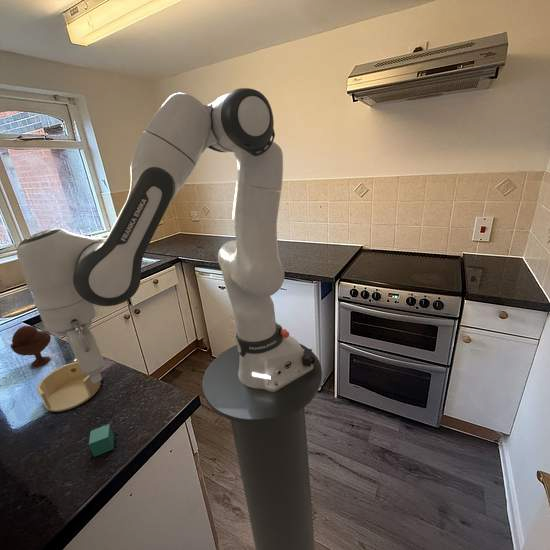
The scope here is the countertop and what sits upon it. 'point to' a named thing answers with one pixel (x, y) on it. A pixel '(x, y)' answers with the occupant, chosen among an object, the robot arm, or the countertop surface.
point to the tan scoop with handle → (66, 388)
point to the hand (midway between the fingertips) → (91, 369)
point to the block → (101, 440)
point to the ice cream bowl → (31, 343)
